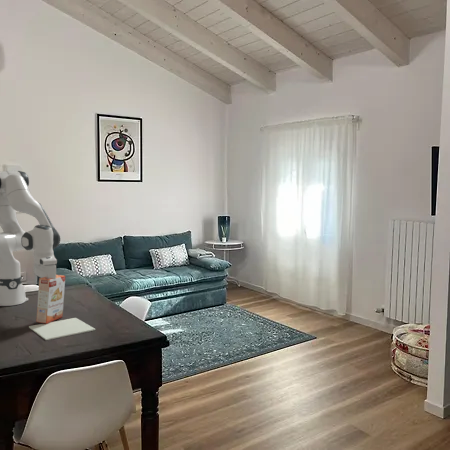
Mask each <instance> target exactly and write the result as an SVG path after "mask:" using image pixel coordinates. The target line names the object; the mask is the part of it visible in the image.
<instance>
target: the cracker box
mask: <svg viewBox="0 0 450 450" xmlns="http://www.w3.org/2000/svg"><path fill="white" fill-rule="evenodd" d="M65 284H66V275H62V274H56V279H50V278H46V277H43V278H41V277H39V279H38V292H37V306H36V307H37V309H36V319H35V320H36V323H39V324H44V323H46V324H47V323H50V322H55V321H56V320H57V321H58V320H59V319H62V318H63V313H64V300H65V287H66V285H65Z"/></svg>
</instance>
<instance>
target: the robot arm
mask: <svg viewBox="0 0 450 450" xmlns="http://www.w3.org/2000/svg"><path fill="white" fill-rule="evenodd" d="M29 179H30V178H29V175H28V174H27V172H25V171H21V170H17V171H16V170H5V171H4V170H3V171H0V227H1V230H2V231H3V232H0V307H9V306H16V305H17V306H18V305H21V304H23V303H26V302H27V301H29V297H26V288H25V285H23V284H22V282H23V278H22V276H21V275H22V273H21V270H22V269H21V262H20V260H18V259H17V258H15V256H14V254H13V252H17V251H22V250H24V249H25V250H26V251H30V252H31V251H33V259H34V261H33V262H34V264H33V265H34V266H33V274H34V276H37V277H39V278H43V277H46V278H50V279H56V275H57V263H58V259H57V258H56V256H55V254H54V250H55V249H56V248H57V247H58V246H59V245H60V243H61V236H60V233H59V232H58V231H57V229H56V228H55V226H54V225H53V223H52V221H51V219H50V218H49V215H48V213H47V212H46V210H45V208H44V206H43V205H42V204H41V203H40V202H39V201H37V199H35V197H34V196H33V195H32V193H31V191H30V188H29V185H30V180H29ZM17 212H19V213H23V214H26V215H29V216H32V217H34V218H35V219H36V220H37V222H38V224H37V225H34V227H33V229H31V230H28V231H25V230H24V229H23V228H22V227H21V225H20V223H19V220H18V217H17Z"/></svg>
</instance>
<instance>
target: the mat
mask: <svg viewBox="0 0 450 450" xmlns="http://www.w3.org/2000/svg"><path fill="white" fill-rule="evenodd" d="M28 328H29V329H30V330H31V331H33V332H34V333H35V334H36V335H38V336H39V337H41V338H42V339H43V340H45V341H50V340H51V341H52V340H55V339H59V338H65V337H69V336H74V335H79V334H83V333H88V332H89V333H90V332H93V331H96V328H94V327H93V326H91V325H89V324H88V323H86V322H84V321H83V320H81V319H79V318H77V317H72V318H67V319H61V320H57V321H56V320H54V321H52V322H49V323H47V324H46V323H39V324H35V325H33V324H32V325H29V326H28Z"/></svg>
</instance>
